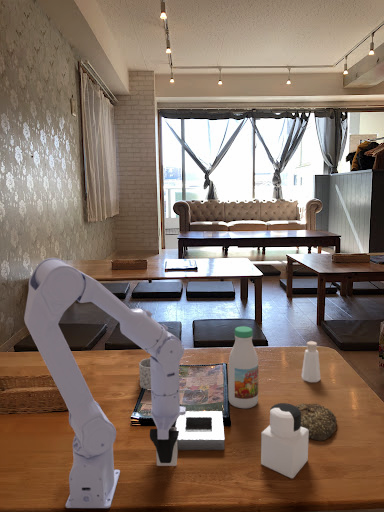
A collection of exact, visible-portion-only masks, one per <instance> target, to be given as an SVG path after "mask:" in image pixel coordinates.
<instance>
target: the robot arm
mask: <svg viewBox="0 0 384 512" xmlns="http://www.w3.org/2000/svg"><path fill="white" fill-rule="evenodd" d="M75 301H77V302H78V303H80V304H84V303H92V304H93V305H95V306H97V307H98V308H99V309H100V310H102V311H103V312H105V313H106V314H107V315H109V316H110V317H112V318H113V319H115V320H116V321H117V322H119V328H120V333H121V334H122V335H123V336H125V337H126V338H128V339H129V340H130V341H132V343H134V344H135V345H136V346H138V347H139V348H141V349H142V350H143V351H145V353H147V354H149V355H151V356H150V357H149V358H150V367H151V368H150V371H151V390H150V392H151V393H150V396H151V397H150V398H151V408H150V415H151V418H152V420H153V422H154V425H155V426H156V428H150V429H149V430H150V431H149V440H150V441H151V442H152V443H153V446H154V447H155V449H157V453H158V457H159V460H160V463H171V460H172V454H173V448H174V445H175V442H176V441H177V439H178V436H179V431H170V428H171V427H176V421H177V418H178V417H179V416H180V415H184V414H185V413H186V410H187V409H186V406H182V404H181V402H180V401H181V399H180V397H181V396H180V394H181V393H180V392H181V391H180V361H181V360H182V358H183V357H184V353H185V347H183V344H182V340H180V338H179V337H177V336H176V335H174V334H173V333H171V332H169V331H168V329H169V327H168V326H167V325H165V324H164V323H162V324H160V323H159V322H158V321H157V320H156V319H154V318H153V317H152V315H153V313H152V312H151V311H150V310H148V309H146V308H145V309H142V308H140V307H137V308H130V307H128V306H127V304H125V303H124V302H123V301H122V300H121V299H119V298H118V297H117V296H116V295H115V294H113V293H112V292H111V291H110V290H109V289H107V288H106V287H105V286H104V285H103V284H102V283H100V281H99V280H96V279H95V278H93V277H91V276H90V275H88V274H86V273H84V272H83V271H81V270H79V269H77V268H76V267H74V266H71V265H69V264H68V263H67V262H65V261H64V260H63V259H60V258H58V257H49V258H45V259H43V260H42V261H40V262H39V263H38V264H37V266H36V267H35V269H34V270H33V272H32V273H31V276H30V277H29V279H28V293H27V298H26V304H25V310H24V317H23V319H24V324H25V326H26V328H27V330H28V332H29V334H30V335H31V336H30V337H31V338H32V340H33V342H34V343H35V346H36V347H37V350H38V351H39V354H40V356H41V358H42V360H43V362H44V363H45V365H46V367H47V370H48V371H49V374H50V376H51V377H52V379H53V381H54V383H55V386H56V387H57V389H58V391H59V393H60V395H61V397H62V399H63V401H64V403H65V404H66V407H67V409H68V410H67V411H68V423H69V426H70V428H72V430H73V431H74V436H73V441H72V456H73V457H72V458H73V462H72V466H71V469H70V472H69V475H68V483H69V485H68V486H69V496H68V498H67V501H66V502H65V508H67V509H109V508H111V506H112V503H113V500H114V499H113V498H114V496H115V492H116V489H117V488H116V487H117V484H118V481H119V478H120V475H121V474H120V473H121V470H120V469H115V464H114V443H115V441H116V437H117V430H116V427H115V426H114V424H113V423H112V421H110V420H109V418H108V417H107V415H106V414H105V413H104V411H103V409H102V408H101V406H100V404H99V402H97V401H96V400H95V399H94V397H93V395H92V392H91V391H90V388H89V386H88V384H87V382H86V380H85V378H84V376H83V373H82V371H81V369H80V368H79V365H78V363H77V361H76V359H75V356H74V355H73V352H72V351H71V349H70V346H69V344H68V342H67V340H66V338H65V336H64V334H63V332H62V330H61V328H60V325H59V324H60V323H59V322H60V321H61V319H62V317H63V315H64V313H65V312H66V311H67V309H69V308H70V307H71V306H72V305H73V304H74V303H75Z"/></svg>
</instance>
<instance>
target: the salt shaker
mask: <svg viewBox="0 0 384 512" xmlns="http://www.w3.org/2000/svg"><path fill="white" fill-rule="evenodd" d="M317 346H318V342H316V341H312V340H311V341H307V343H306V349H305V350H304V356H303V362H302V370H301V376H300V377H301V378H302V380H303V381H305V382H307V383H318V382H319V381H320V380H321V368H320V353H319V351H318V350H317V349H318V348H317Z"/></svg>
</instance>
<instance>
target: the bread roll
mask: <svg viewBox="0 0 384 512" xmlns="http://www.w3.org/2000/svg"><path fill="white" fill-rule="evenodd" d="M295 406H296V407H297V408H298V409H299V410H300V411H301V427H304V428H306V429H308V430H309V436H308V439H309V438H310V439H312V440H315V441H324V440H325V441H326V440H327V439H328V438H330V437H331V436H332V435H333V434H334V432H335V431H336V426H337V417H336V416H335V413H334V412H332V410H331V409H329V408H326V407H325V406H323V405H322V404H318V403H316V402H315V403H301V404H297V405H295Z"/></svg>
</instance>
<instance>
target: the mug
mask: <svg viewBox="0 0 384 512" xmlns="http://www.w3.org/2000/svg"><path fill="white" fill-rule="evenodd" d="M138 365H139V367H138V368H139V370H138V371H139V387H140V388H141V389H142V388H145V389H151V371H150V368H151V367H150V357H149V358H144V359H142V360H141V361H140V362H139V363H138Z"/></svg>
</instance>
